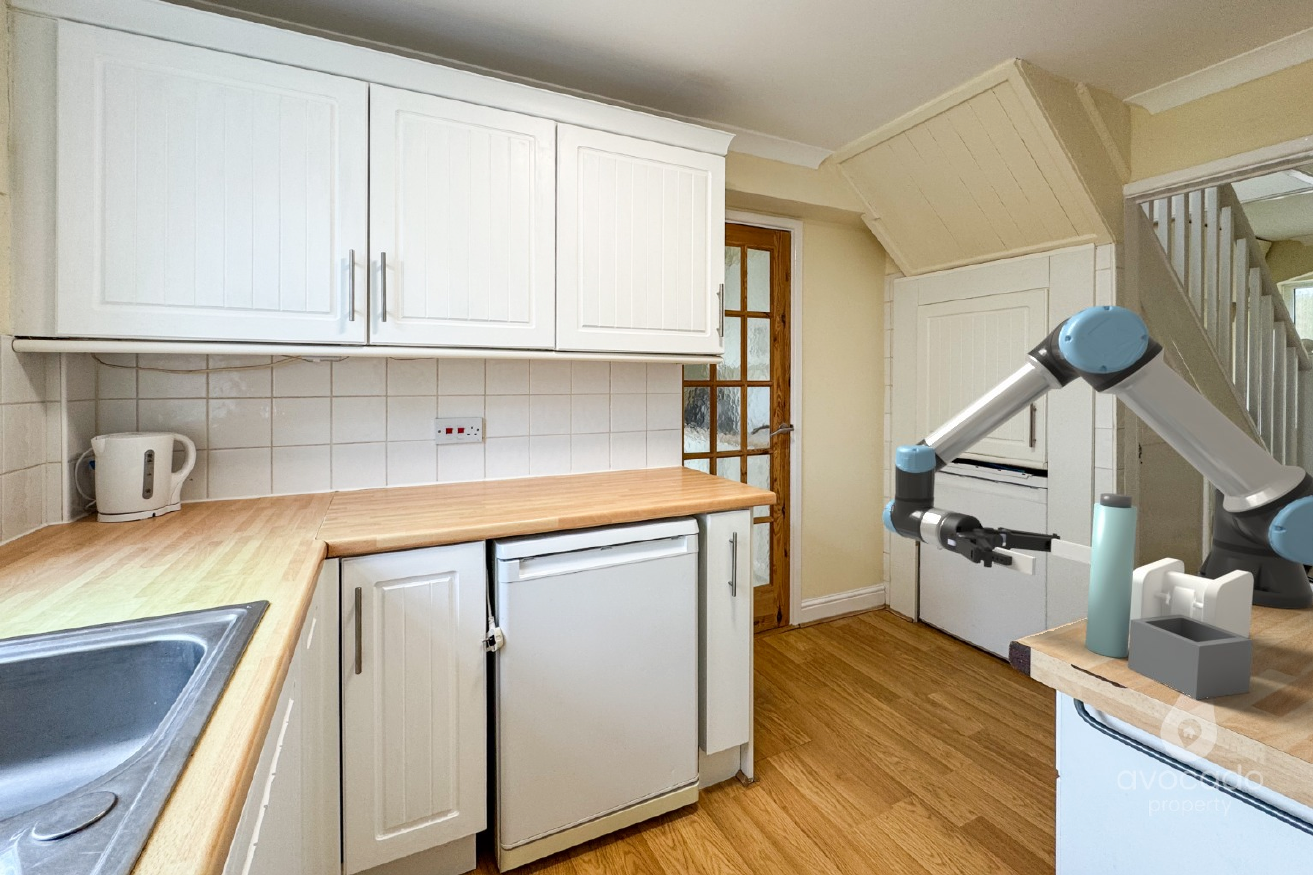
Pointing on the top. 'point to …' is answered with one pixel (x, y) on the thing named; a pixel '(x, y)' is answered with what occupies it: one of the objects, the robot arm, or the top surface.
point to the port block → (1190, 656)
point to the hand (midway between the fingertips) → (1064, 561)
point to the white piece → (1192, 596)
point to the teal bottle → (1111, 575)
